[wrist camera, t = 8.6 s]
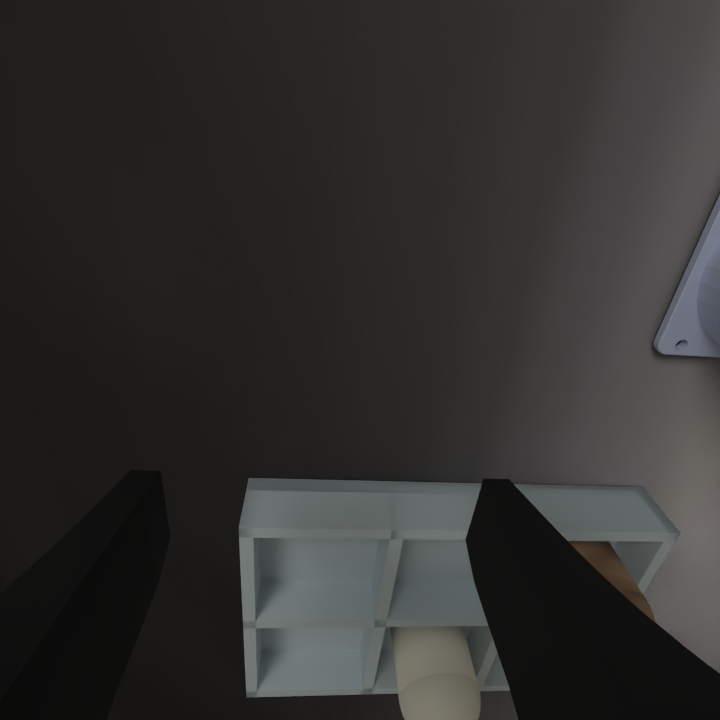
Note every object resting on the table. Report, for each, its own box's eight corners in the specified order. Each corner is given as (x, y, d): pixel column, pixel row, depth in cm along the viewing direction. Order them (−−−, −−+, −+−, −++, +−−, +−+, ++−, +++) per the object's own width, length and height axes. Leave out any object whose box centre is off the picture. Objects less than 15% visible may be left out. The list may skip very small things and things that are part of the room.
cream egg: (443, 588, 26) (472, 713, 21) (470, 625, 28) (503, 747, 23) (377, 614, 27) (389, 739, 22) (408, 648, 29) (426, 771, 24)
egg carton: (642, 486, 24) (680, 533, 22) (562, 639, 31) (584, 688, 28) (248, 478, 22) (238, 528, 20) (253, 643, 29) (246, 697, 26)
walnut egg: (613, 518, 24) (695, 635, 19) (587, 570, 26) (654, 689, 21) (537, 517, 24) (598, 636, 19) (516, 570, 26) (566, 691, 21)
